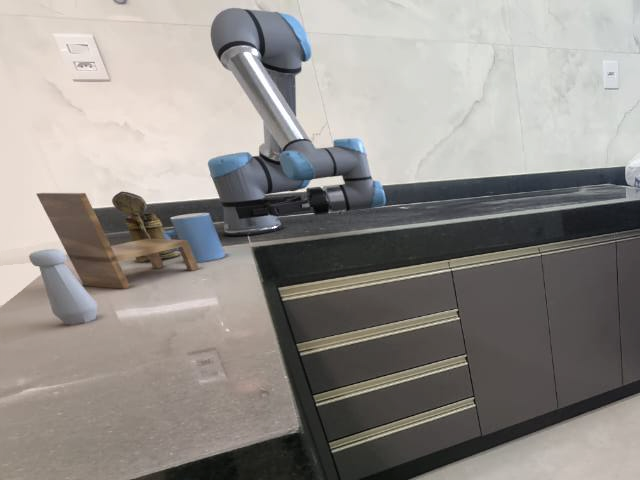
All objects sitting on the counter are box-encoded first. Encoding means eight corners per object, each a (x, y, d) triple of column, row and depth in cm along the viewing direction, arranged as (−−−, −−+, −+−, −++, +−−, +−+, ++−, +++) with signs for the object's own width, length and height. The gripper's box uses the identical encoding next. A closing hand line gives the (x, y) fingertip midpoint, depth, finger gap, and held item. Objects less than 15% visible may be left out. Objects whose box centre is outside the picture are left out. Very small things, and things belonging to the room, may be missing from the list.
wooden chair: (160, 266, 133) (123, 183, 124) (199, 268, 129) (163, 183, 120) (83, 285, 119) (35, 193, 110) (124, 288, 115) (78, 193, 106)
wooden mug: (131, 267, 132) (96, 193, 125) (139, 257, 143) (107, 188, 135) (176, 261, 137) (145, 189, 129) (180, 251, 147) (152, 184, 139)
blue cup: (224, 252, 144) (208, 211, 139) (226, 258, 138) (209, 215, 133) (175, 260, 138) (157, 217, 133) (175, 266, 132) (156, 221, 127)
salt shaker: (103, 312, 100) (68, 244, 95) (104, 319, 97) (67, 249, 91) (60, 321, 97) (21, 251, 91) (59, 329, 93) (19, 256, 87)
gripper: (337, 219, 143) (243, 231, 132) (322, 208, 161) (239, 218, 150) (329, 190, 140) (232, 200, 128) (315, 182, 158) (229, 191, 147)
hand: (235, 210), depth 139 cm, fingers open, 13 cm apart
